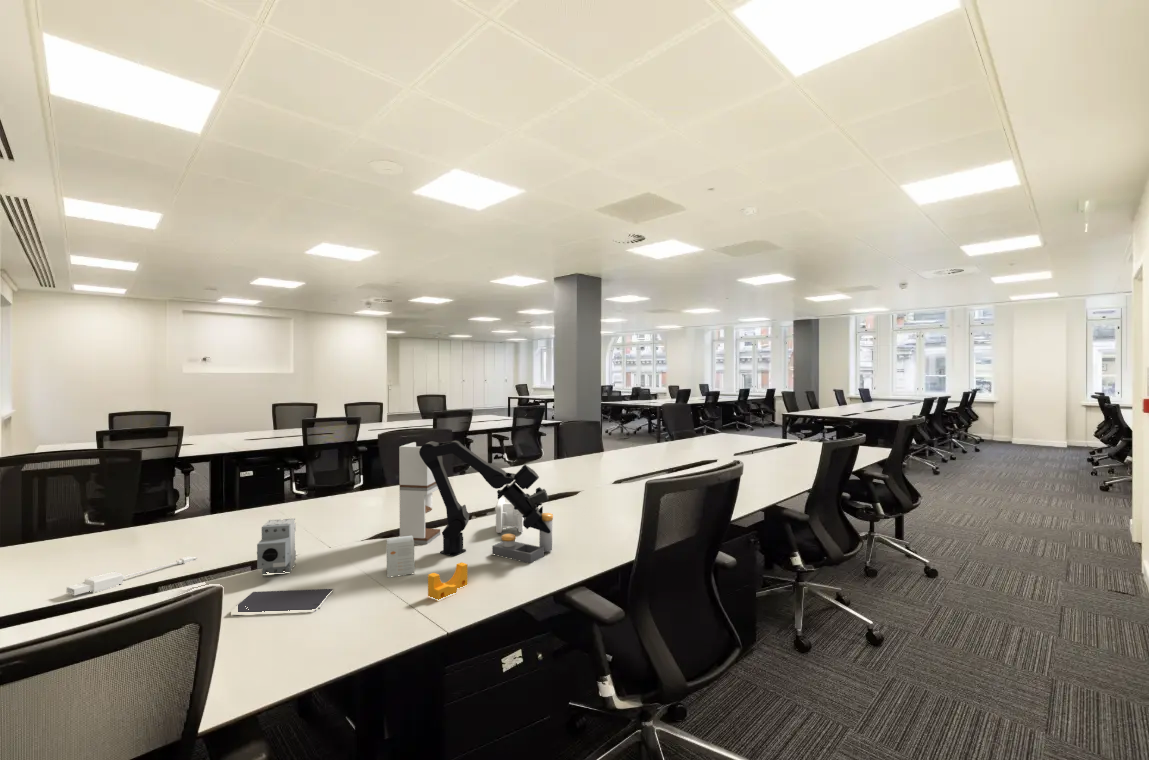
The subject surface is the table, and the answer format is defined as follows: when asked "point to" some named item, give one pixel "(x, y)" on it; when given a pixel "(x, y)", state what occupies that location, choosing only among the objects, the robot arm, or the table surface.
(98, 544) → the table surface
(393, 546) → the small box
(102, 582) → the charging cable
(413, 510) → the display case
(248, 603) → the notebook
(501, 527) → the cable organizer
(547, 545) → the plug
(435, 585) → the pipe clamp
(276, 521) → the circuit breaker
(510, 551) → the grey divided tray
